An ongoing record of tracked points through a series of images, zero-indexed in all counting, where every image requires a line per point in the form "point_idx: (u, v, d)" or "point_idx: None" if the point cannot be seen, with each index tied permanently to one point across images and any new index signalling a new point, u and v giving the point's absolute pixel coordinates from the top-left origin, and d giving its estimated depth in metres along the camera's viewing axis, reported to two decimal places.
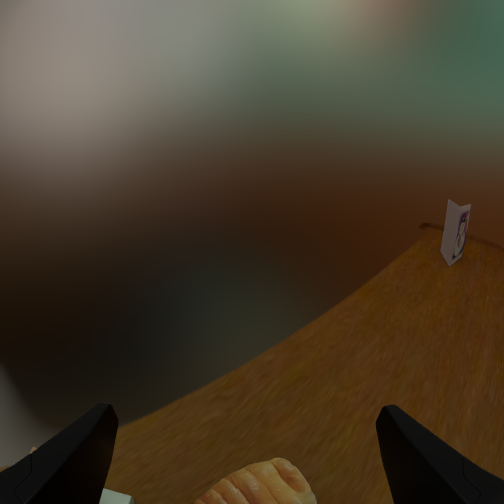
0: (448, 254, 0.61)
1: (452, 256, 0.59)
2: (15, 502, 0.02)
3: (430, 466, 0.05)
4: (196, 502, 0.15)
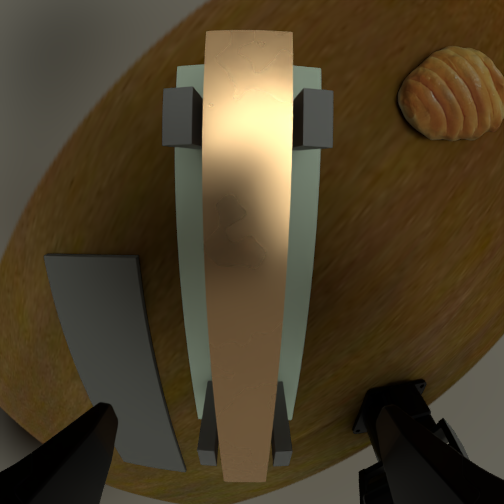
0: None
1: None
2: (15, 502, 0.02)
3: (430, 466, 0.05)
4: (415, 85, 0.13)
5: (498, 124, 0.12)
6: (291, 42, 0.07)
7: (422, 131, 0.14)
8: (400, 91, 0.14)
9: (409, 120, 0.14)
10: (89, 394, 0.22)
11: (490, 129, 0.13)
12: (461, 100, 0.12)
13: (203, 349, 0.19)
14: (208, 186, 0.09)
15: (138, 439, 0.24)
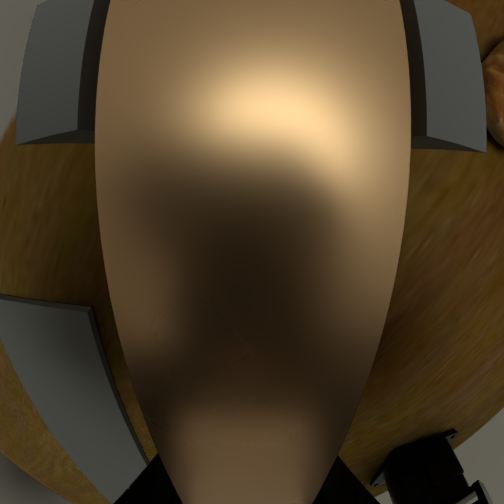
0: None
1: None
2: None
3: (319, 494, 0.05)
4: (500, 78, 0.07)
5: None
6: None
7: None
8: None
9: (490, 126, 0.08)
10: (63, 446, 0.15)
11: None
12: None
13: None
14: (123, 269, 0.03)
15: (124, 490, 0.17)
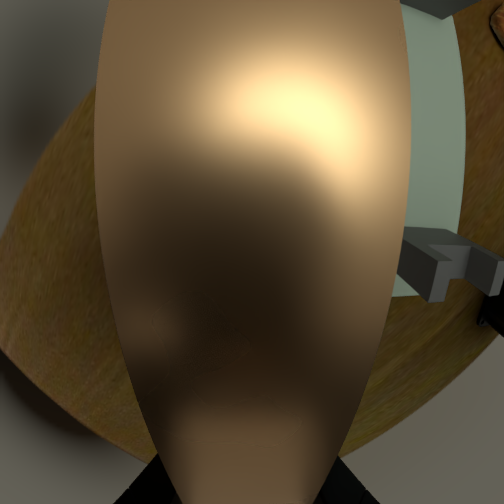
0: None
1: None
2: None
3: (319, 494, 0.05)
4: (502, 18, 0.10)
5: None
6: None
7: None
8: (492, 22, 0.11)
9: (502, 40, 0.12)
10: None
11: None
12: None
13: None
14: (121, 263, 0.03)
15: None
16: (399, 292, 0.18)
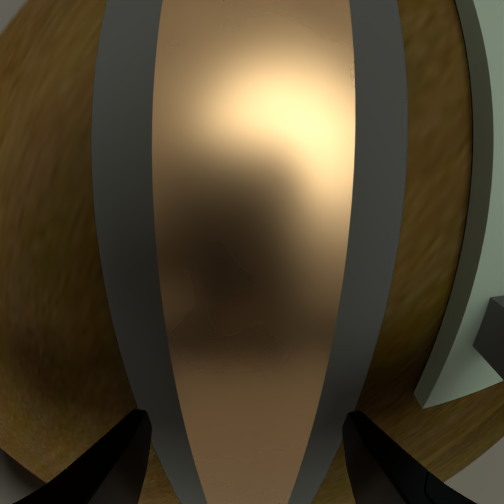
0: None
1: None
2: None
3: (389, 480, 0.05)
4: None
5: None
6: None
7: None
8: None
9: None
10: (141, 402, 0.09)
11: None
12: None
13: None
14: (167, 223, 0.04)
15: None
16: (483, 385, 0.09)
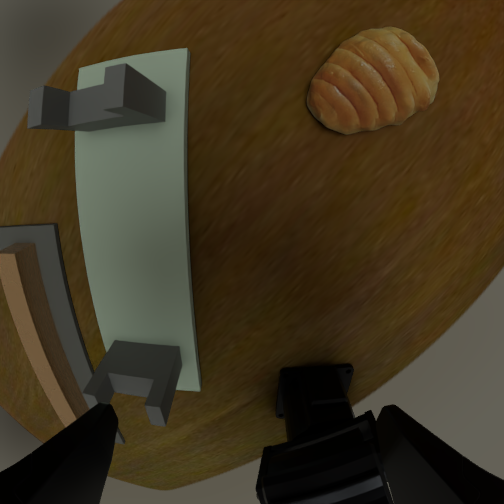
0: None
1: None
2: (15, 502, 0.02)
3: (430, 466, 0.05)
4: (318, 84, 0.15)
5: (426, 102, 0.14)
6: (15, 259, 0.16)
7: (333, 129, 0.16)
8: (308, 92, 0.16)
9: (319, 120, 0.16)
10: None
11: (418, 109, 0.15)
12: (370, 87, 0.14)
13: (105, 307, 0.20)
14: (12, 313, 0.18)
15: None
16: None
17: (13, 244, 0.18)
